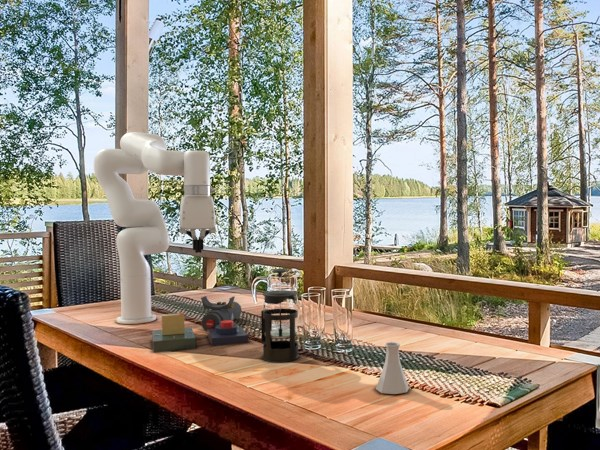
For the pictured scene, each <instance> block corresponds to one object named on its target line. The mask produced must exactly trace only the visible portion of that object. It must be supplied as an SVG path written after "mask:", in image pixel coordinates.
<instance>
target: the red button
mask: <svg viewBox="0 0 600 450" xmlns="http://www.w3.org/2000/svg"><path fill="white" fill-rule="evenodd" d="M233 324H234V320H233V321H232V320H224V321H221V327H222V328H229V327H233Z"/></svg>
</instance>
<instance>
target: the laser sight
mask: <svg viewBox="0 0 600 450" xmlns="http://www.w3.org/2000/svg"><path fill="white" fill-rule="evenodd" d="M200 300H201V303H202V307H203V310H209V311H208V312H207V313H206V314H205V315H204V316H203V317H202V319H201V327H202V329H203V330H204V331H205V332H207V329H215V327H216V326H217V325H221V321H224V320H232V321H233V322H234V320H235V319H236V318H238V317H239V316H240V315H241V313H242V306H241V304H240V303H239V302H237V301H235V296H231V297H229V299H228V302H227V301H216V303H212V302H211V301H209V299H208V295H204V296H202V297H200Z"/></svg>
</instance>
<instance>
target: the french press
mask: <svg viewBox="0 0 600 450" xmlns="http://www.w3.org/2000/svg"><path fill="white" fill-rule="evenodd" d="M271 272H272V273H277V277H278V279H279V281H278V282H279V283H278V284H279V287H278V289H279V290H270V291H269V290H268V291H264V292H263V293H262V296H263V297H264V299H263V300H264V303H265V304H269V305H279V308H271V309H263V310H261V311H260V314H261V316H260V320H261V321H260V322H261V323H260V325H261V326H260V327H261V328H260V331H261V344H262V352H263V353H262V360H263V361H265V362H269V363H288V362H293V361H296V360H298V359H299V358H300V354H299V343H298V342H296V336H297V331H296V319H297V318H298V316H299V311H298V310H297V309H293V308H282V303H283V302H284V301H285V300H293V301H297V295H298V294H299V293H298V292H297V291H294V290H285V289H282V277H283V273H288V272H289V270H288V269H286V268H285V269H283V268H278V269H273V270H271ZM277 314H278V315H277ZM273 321H279V328H278V329H273V328H272V327H273V325H272V323H273ZM282 321H289V329H283V328H282ZM286 339H289V340H286Z"/></svg>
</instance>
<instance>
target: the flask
mask: <svg viewBox="0 0 600 450" xmlns="http://www.w3.org/2000/svg"><path fill="white" fill-rule="evenodd" d="M384 346H385V347H386V351H385V353H386V354H385V360H384V363H383V367H382V370H381V372H380V376H379V379H378V381H377V384H376V387H375V390H376V391H378V392H379V393H381V394H386V395H387V394H389V395H399V394H404V393H408V391H409V389H410V386H409V384H408V381H407V378H406V375H405V372H404V369H403V366H402V364H401V358H400V351H399V349H400V346H401V343H399V342H396V341H393V342H392V341H390V342H386V343H385V344H384Z"/></svg>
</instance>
